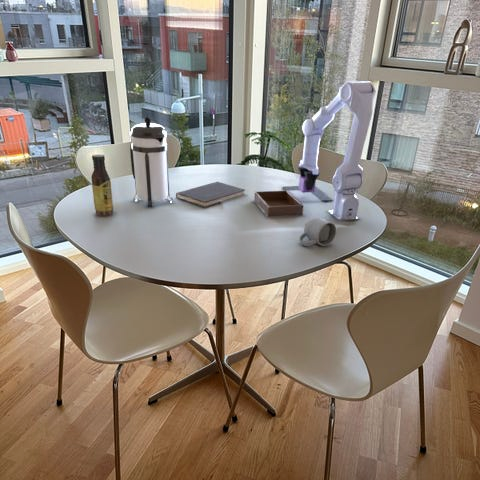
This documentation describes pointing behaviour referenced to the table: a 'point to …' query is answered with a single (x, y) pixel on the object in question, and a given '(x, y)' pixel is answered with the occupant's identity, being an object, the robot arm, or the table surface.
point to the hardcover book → (209, 194)
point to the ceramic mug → (318, 232)
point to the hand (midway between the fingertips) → (306, 187)
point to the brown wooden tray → (278, 203)
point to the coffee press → (150, 162)
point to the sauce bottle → (101, 187)
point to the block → (304, 185)
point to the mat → (317, 192)
